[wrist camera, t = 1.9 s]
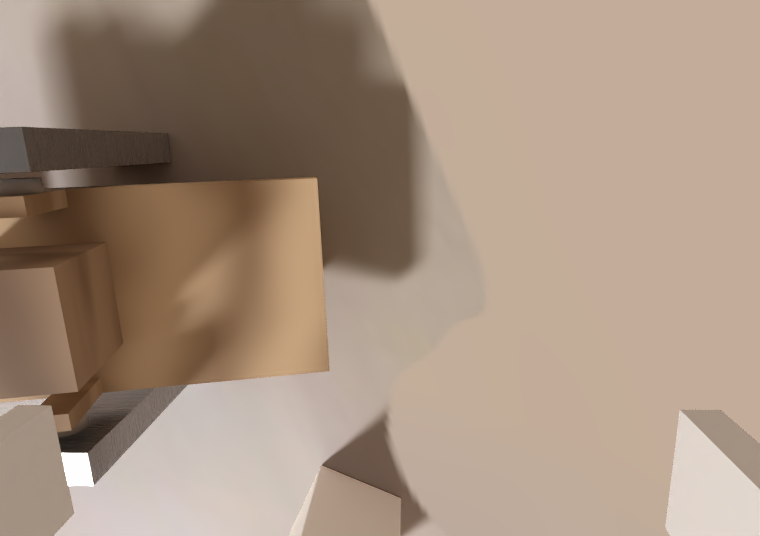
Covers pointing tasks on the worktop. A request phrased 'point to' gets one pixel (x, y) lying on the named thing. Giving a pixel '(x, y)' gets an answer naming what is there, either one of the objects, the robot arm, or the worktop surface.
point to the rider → (55, 318)
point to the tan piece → (188, 278)
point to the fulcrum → (112, 409)
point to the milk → (347, 508)
